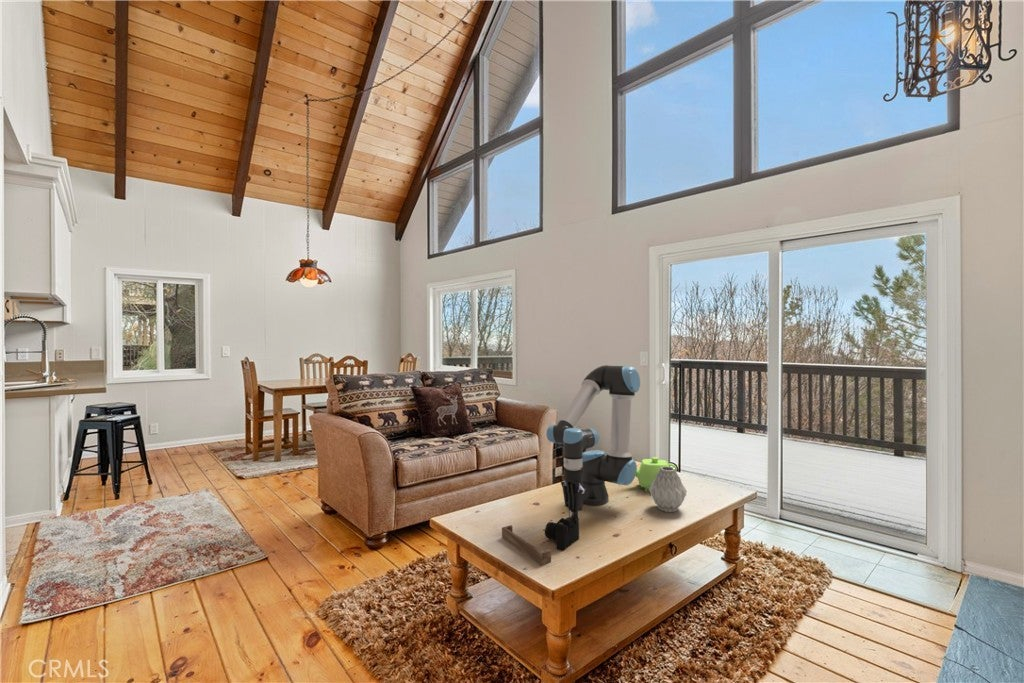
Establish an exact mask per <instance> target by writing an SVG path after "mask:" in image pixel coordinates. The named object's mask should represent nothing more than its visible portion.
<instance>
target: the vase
mask: <svg viewBox="0 0 1024 683" xmlns="http://www.w3.org/2000/svg"><path fill="white" fill-rule="evenodd" d="M649 490H650V491H649V492H650V495H651V497H652V500H653V502H654V504H655V505H656V506H657V508H658V510H660V511H663V512H666V513H667V512H669V513H673V512H674V513H675V512H678V510H679V508H680V506H682V504H683V503H684V500H685V498H686V496H687V491H688V490H687V489H686V487H685V486H684V484H683V483H682V479H681V477H680V476H679V474H678V472H676V471H675V468H674V467H672V466H669V467H661V468H660V470H659V472H658V473H657V474H656V476H655V479H654V481H653V482H652V484H651V486H650V487H649Z"/></svg>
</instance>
